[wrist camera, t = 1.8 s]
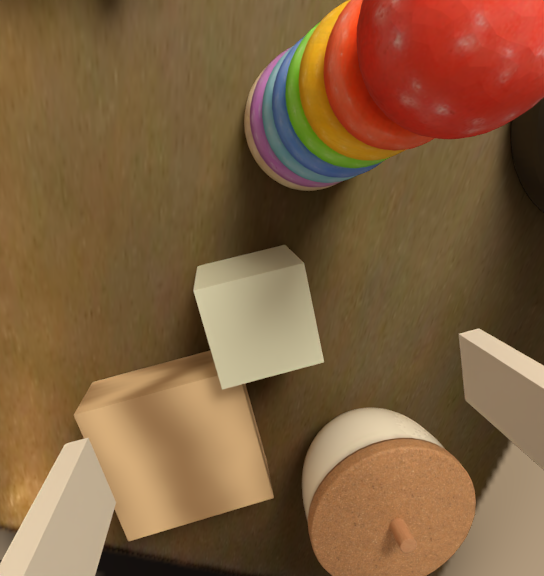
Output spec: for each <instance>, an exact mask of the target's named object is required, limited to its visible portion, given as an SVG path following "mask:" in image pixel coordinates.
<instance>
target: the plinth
mask: <svg viewBox="0 0 544 576" xmlns="http://www.w3.org/2000/svg"><path fill="white" fill-rule="evenodd" d="M74 417H75V419H76V421H77V424H78V426H79V428H80V431H81V433H82V435H83V438H84V439H85V438H89V440H90V442H91V445H92V447H93V449H94V452H95V454H96V456H97V459H98V461H99V464H100V466H101V468H102V471H103V473H104V475H105V478H106V480H107V482H108V485H109V487H110V489H111V492H112V494H113V496H114V499H115V501H116V505H115V508H114V509H115V511H116V514H117V516H118V518H119V521H120V523H121V525H122V528H123V530H124V532H125V535H126V537H127V539H128V541H132V540H135V539H138V538H142V537H145V536H148V535H152V534H155V533H158V532H162V531H165V530H168V529H172V528H175V527H178V526H182V525H185V524H188V523H192V522H195V521H198V520H202V519H205V518H208V517H212V516H215V515H218V514H222V513H225V512H228V511H232V510H235V509H238V508H242V507H245V506H248V505H252V504H255V503H258V502H262V501H265V500H268V499H272V498H274V496H273V491H272V485H271V480H270V475H269V470H268V465H267V459H266V456H265V452H264V448H263V445H262V441H261V438H260V434H259V431H258V427H257V423H256V420H255V416H254V413H253V409H252V405H251V402H250V398H249V395H248V391H247V388H246V384H241V385H238V386H234V387H230V388H226V389H223V390H222V387H221V384H220V380H219V377H218V373H217V370H216V367H215V363H214V360H213V356H212V353H211V350H210V351H206V352H202V353H199V354H195V355H191V356H188V357H184V358H180V359H176V360H173V361H169V362H165V363H162V364H158V365H154V366H151V367H147V368H143V369H139V370H136V371H132V372H128V373H125V374H121V375H117V376H113V377H110V378H106V379H102V380H99V381H95V382H92V384H91V386H90V388H89V389H88V391H87V393H86V394H85V396H84V398H83V400H82V401H81V403H80V405H79V407H78V408H77V410H76V412H75V414H74Z"/></svg>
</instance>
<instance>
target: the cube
mask: <svg viewBox="0 0 544 576" xmlns="http://www.w3.org/2000/svg"><path fill="white" fill-rule="evenodd" d="M193 291H194V295H195V298H196V301H197V305H198V308H199V312H200V315H201V319H202V322H203V325H204V329H205V332H206V336H207V339H208V343H209V346H210V349H211V353H212V356H213V360H214V363H215V367H216V370H217V373H218V377H219V380H220V384H221V387H222V390H223V389H226V388H230V387H234V386H238V385H241V384H245V383H249V382H252V381H256V380H260V379H263V378H267V377H271V376H275V375H278V374H282V373H286V372H289V371H293V370H297V369H300V368H304V367H308V366H312V365H315V364H319V363H323V362H324V359H323V354H322V350H321V345H320V340H319V335H318V330H317V325H316V320H315V315H314V310H313V305H312V300H311V295H310V290H309V285H308V280H307V275H306V270H305V265H304V262H303V261H301V260H300V259H299V258H298V257H297V256H296V255H295V254H294V253H293V252H292V251H291V250H290V249H289V248H288V247H287V246H286V245H281V246H277V247H273V248H269V249H265V250H261V251H257V252H253V253H249V254H245V255H241V256H237V257H233V258H229V259H225V260H221V261H217V262H213V263H209V264H204V265H200V266H197V272H196V278H195V284H194V290H193Z"/></svg>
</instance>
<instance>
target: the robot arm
mask: <svg viewBox="0 0 544 576" xmlns="http://www.w3.org/2000/svg"><path fill="white" fill-rule="evenodd" d="M511 144H512V154H513V160H514V164H515V168H516V171H517V175H518V177H519V180H520V182H521V184H522V186H523V188H524V190H525V191H526V193H527V195H528V196H529V197H530V199H531V200H532V201H533V203H534V204H535V205H536V206H537V207H538V208H539V209H540V210H541V211H543V212H544V98H542V99H541V100H540V101H539V102H538V103H537V104H536V105H535V106H533V107H532V108H531V109H529V110H528V111H526V112H525V113H523V114H522V115H520V116H518V117H517V118H515V119H514V120H512V127H511ZM459 342H460V352H461V363H462V373H463V383H464V394H465V401H467V402H468V403H469V404H470V405H471V406H472V407H473V408H474V409H476V410H477V411H478V412H479V413H480V414H481V415H482V416H483V417H485V418H486V419H487V420H488V421H489V422H490V423H491V424H492V425H494V426H495V427H496V428H497V429H498V430H499V431H500V432H501V433H503V434H504V435H505V436H506V437H507V438H508V439H509V440H510V441H512V442H513V443H514V444H515V445H516V446H517V447H518V448H520V449H521V450H522V451H523V452H524V453H525V454H526V455H527V456H529V457H530V458H531V459H532V460H533V461H534V462H535V463H536V464H537V465H539V466H540V467H541V468H542V469H543V470H544V366H543V365H542V364H540V363H538V362H536V361H535V360H533V359H531V358H530V357H528V356H526V355H524V354H523V353H521V352H519V351H517V350H516V349H514V348H512V347H510V346H509V345H507V344H505V343H503V342H502V341H500V340H498V339H496V338H495V337H493V336H491V335H489V334H488V333H486V332H484V331H483V330H481V329H479V328H478V329H475V330H471V331H467V332H464V333H460V334H459ZM115 505H116V501H115V499H114V496H113V494H112V492H111V489H110V487H109V485H108V482H107V480H106V478H105V475H104V473H103V471H102V468H101V466H100V464H99V461H98V459H97V456H96V454H95V452H94V449H93V447H92V445H91V442H90V440H89V438H85V439H81V440H78V441H74V442H70V443H67V444H65V445H64V447H63V449H62V451H61V452H60V454H59V456H58V458H57V460H56V462H55V464H54V465H53V467H52V469H51V471H50V473H49V475H48V476H47V478H46V480H45V482H44V484H43V486H42V487H41V489H40V491H39V493H38V495H37V497H36V499H35V500H34V502H33V504H32V506H31V508H30V510H29V511H28V513H27V515H26V517H25V519H24V521H23V523H22V524H21V526H20V528H19V530H18V532H17V534H16V535H15V537H14V539H13V541H12V543H11V545H10V546H9V548H8V550H7V552H6V554H5V556H4V558H3V559H2V560H0V576H95V573H96V570H97V567H98V563H99V560H100V556H101V553H102V549H103V546H104V543H105V539H106V536H107V532H108V529H109V525H110V522H111V518H112V515H113V512H114V508H115Z"/></svg>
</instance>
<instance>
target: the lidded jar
mask: <svg viewBox="0 0 544 576" xmlns="http://www.w3.org/2000/svg"><path fill="white" fill-rule="evenodd" d="M302 495H303V504H304V509H305V513H306V518H307V522H308V531H309V536H310V540H311V544H312V548H313V551H314V553H315V555H316V557H317V560H318V561H319V562H320V564H321V565H322V566H323V568H324V569H325V570H326V571H328V572H329V573H330V574H331V575H332V576H426V575H428V574H430V573H431V572H433V571H435V570H436V569H437V568H439V567H440V566H441V565H442V564H444V563H445V562H446V561H447V560H448V559H449V558H450V557H451V556H452V555H453V554H454V553H455V552H456V551H457V549H458V548H459V547H460V546H461V544H462V543H463V541H464V540H465V538H466V536H467V535H468V532H469V530H470V528H471V525H472V522H473V519H474V515H475V505H476V499H475V490H474V487H473V483H472V480H471V478H470V476H469V475H468V473H467V471H466V470H465V469H464V468H463V466H462V465H461V464H460V463H459V461H458V460H457V459H456V458H455V457H454V456H453V455H452V454H450V453H449V452H448V451H447V450H446V449H445V448H444V447H443V446H442V445H441V444H440V443H439V442H438V440H437V439H436V438H435V437H433V436H432V435H431V434H430V433H429V432H428V431H426V430H425V429H424V428H423V427H422V426H420V425H419V424H418V423H416V422H415V421H413V420H411V419H410V418H408V417H406V416H404V415H402V414H399V413H397V412H394V411H391V410H388V409H382V408H360V409H355V410H351V411H348V412H345V413H343V414H341V415H339V416H337V417H335V418H334V419H332V420H331V421H330V422H329V423H327V424H326V425H325V426H324V427H323V428H322V429H321V430H320V431H319V432H318V434H317V435H316V437H315V438H314V440H313V441H312V443H311V445H310V447H309V449H308V451H307V454H306V457H305V461H304V465H303V472H302Z"/></svg>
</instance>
